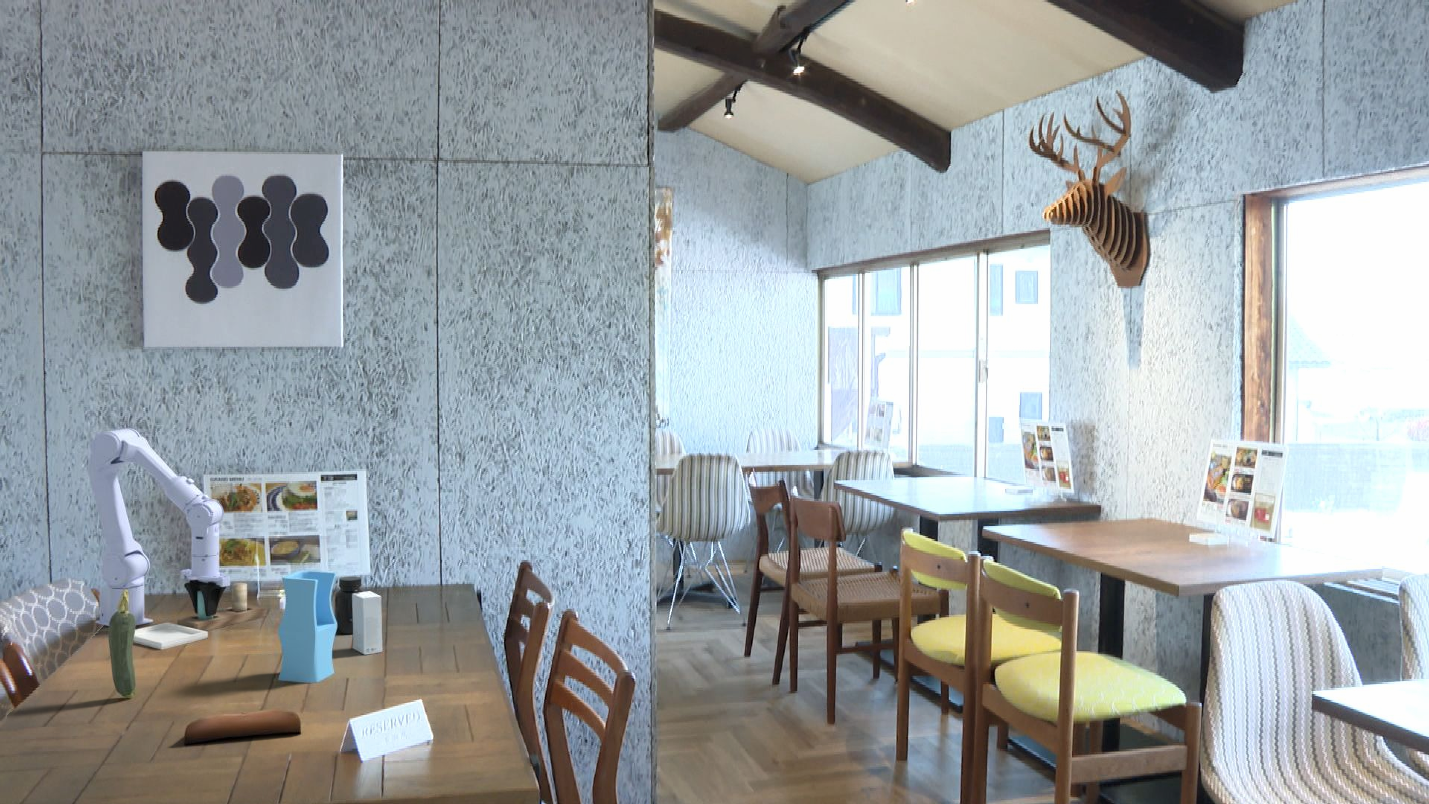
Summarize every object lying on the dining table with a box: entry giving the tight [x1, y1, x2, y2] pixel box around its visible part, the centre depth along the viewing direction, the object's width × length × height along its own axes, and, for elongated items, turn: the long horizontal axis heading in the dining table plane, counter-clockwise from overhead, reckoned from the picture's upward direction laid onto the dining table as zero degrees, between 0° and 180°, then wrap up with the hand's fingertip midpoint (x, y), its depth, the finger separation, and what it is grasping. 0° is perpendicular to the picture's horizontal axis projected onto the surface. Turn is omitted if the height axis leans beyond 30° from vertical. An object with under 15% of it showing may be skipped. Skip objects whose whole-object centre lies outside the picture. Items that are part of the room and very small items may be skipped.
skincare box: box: [352, 590, 383, 655], centre depth 240 cm, size 6×4×12 cm
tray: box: [133, 621, 209, 651], centre depth 246 cm, size 14×11×1 cm
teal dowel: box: [197, 591, 213, 621], centre depth 257 cm, size 3×3×8 cm
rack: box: [177, 603, 267, 632], centre depth 261 cm, size 18×7×2 cm, turn 150°
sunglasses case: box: [183, 708, 302, 746], centre depth 190 cm, size 18×7×7 cm
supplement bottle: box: [333, 576, 365, 635], centre depth 256 cm, size 7×7×12 cm
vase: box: [277, 569, 338, 684], centre depth 222 cm, size 8×8×20 cm
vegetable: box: [107, 589, 136, 700], centre depth 205 cm, size 4×4×20 cm
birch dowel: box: [231, 582, 248, 613], centre depth 264 cm, size 3×3×8 cm
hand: (205, 614), depth 257 cm, fingers closed on teal dowel, 3 cm apart
